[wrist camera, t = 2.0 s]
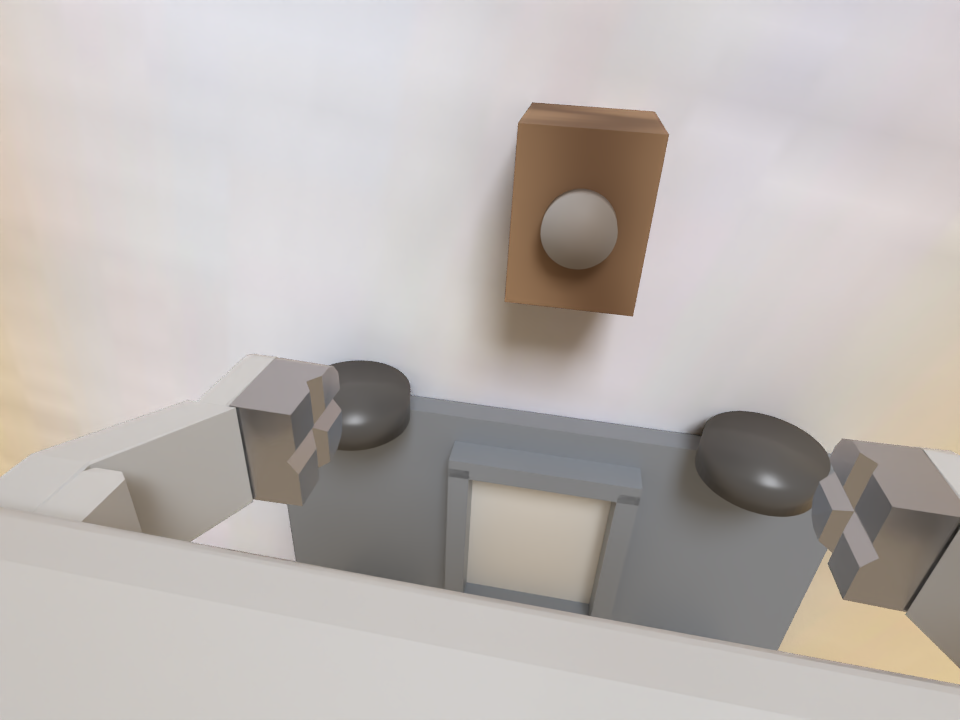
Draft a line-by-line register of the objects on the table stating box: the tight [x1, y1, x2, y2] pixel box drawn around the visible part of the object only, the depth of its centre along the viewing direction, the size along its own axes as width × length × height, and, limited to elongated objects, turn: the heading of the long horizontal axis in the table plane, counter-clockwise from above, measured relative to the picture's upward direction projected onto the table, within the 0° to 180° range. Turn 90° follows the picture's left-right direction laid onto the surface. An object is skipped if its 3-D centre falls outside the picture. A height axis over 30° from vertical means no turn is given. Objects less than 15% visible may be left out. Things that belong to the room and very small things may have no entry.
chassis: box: [287, 361, 835, 651], centre depth 31 cm, size 28×17×5 cm, turn 87°
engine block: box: [505, 103, 669, 316], centre depth 21 cm, size 4×6×6 cm
